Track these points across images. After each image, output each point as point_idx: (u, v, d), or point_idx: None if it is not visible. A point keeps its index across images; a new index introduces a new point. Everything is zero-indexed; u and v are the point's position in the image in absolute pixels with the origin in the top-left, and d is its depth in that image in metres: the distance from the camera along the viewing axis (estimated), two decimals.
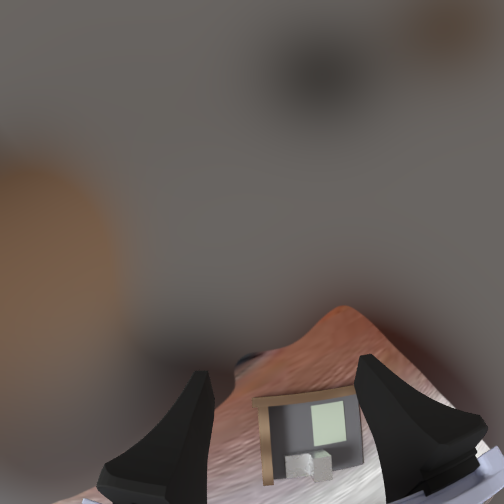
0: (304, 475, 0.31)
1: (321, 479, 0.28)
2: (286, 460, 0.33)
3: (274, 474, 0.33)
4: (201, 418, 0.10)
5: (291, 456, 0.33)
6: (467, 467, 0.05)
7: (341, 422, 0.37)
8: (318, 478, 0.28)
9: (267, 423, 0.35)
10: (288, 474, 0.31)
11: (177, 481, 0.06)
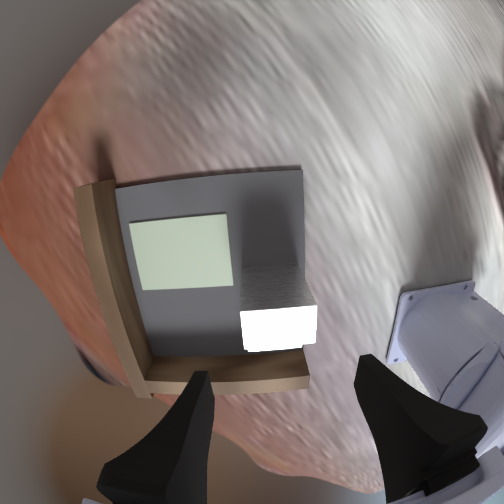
0: None
1: (309, 330, 0.15)
2: (258, 348, 0.20)
3: (292, 348, 0.23)
4: (201, 418, 0.10)
5: None
6: (467, 467, 0.05)
7: (180, 225, 0.19)
8: (304, 336, 0.15)
9: (175, 384, 0.20)
10: (290, 345, 0.20)
11: (177, 481, 0.06)
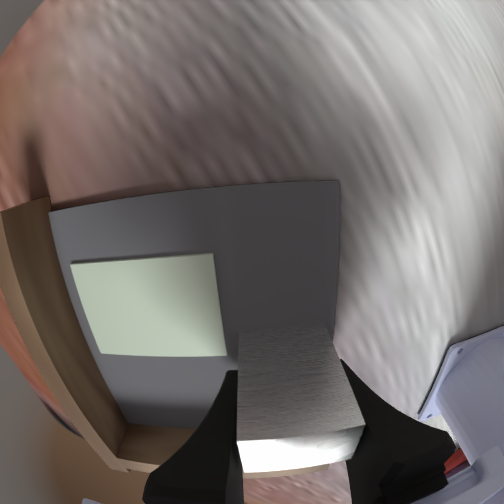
0: None
1: (346, 449, 0.08)
2: None
3: None
4: None
5: None
6: (467, 467, 0.05)
7: (141, 269, 0.12)
8: (338, 455, 0.08)
9: (155, 466, 0.12)
10: None
11: (230, 484, 0.06)
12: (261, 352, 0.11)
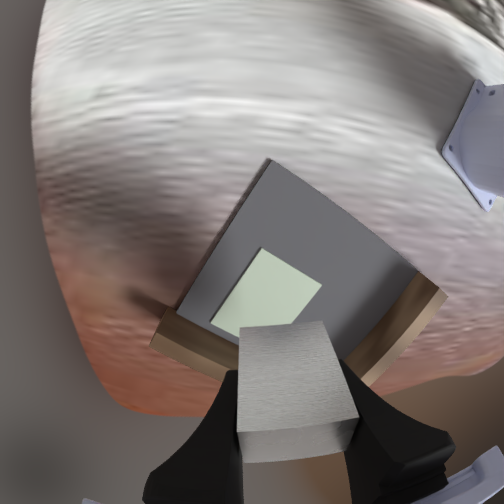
0: None
1: (341, 441, 0.08)
2: None
3: (410, 278, 0.20)
4: None
5: None
6: (467, 467, 0.05)
7: (242, 288, 0.20)
8: (333, 447, 0.08)
9: None
10: None
11: (229, 484, 0.06)
12: (261, 347, 0.12)
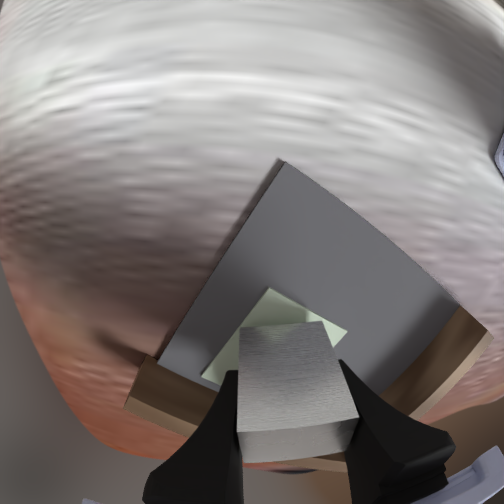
0: None
1: (341, 441, 0.08)
2: None
3: (450, 314, 0.15)
4: None
5: None
6: (467, 467, 0.05)
7: None
8: (333, 447, 0.08)
9: None
10: None
11: (229, 484, 0.06)
12: (261, 347, 0.12)
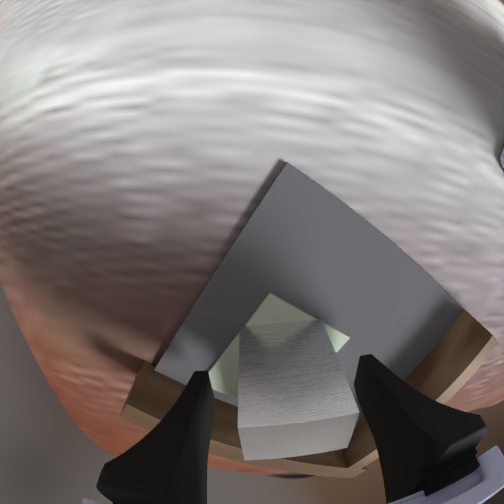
0: None
1: (342, 437, 0.08)
2: None
3: (454, 319, 0.14)
4: (201, 418, 0.10)
5: None
6: (467, 467, 0.05)
7: None
8: (334, 444, 0.08)
9: None
10: None
11: (177, 481, 0.06)
12: (261, 345, 0.12)
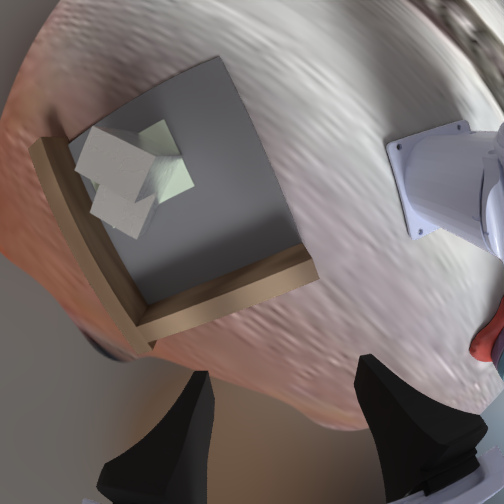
0: (149, 202, 0.17)
1: (135, 182, 0.12)
2: (98, 215, 0.17)
3: (289, 244, 0.20)
4: (201, 418, 0.10)
5: (94, 200, 0.16)
6: (467, 467, 0.05)
7: None
8: (128, 187, 0.12)
9: (167, 319, 0.18)
10: (127, 230, 0.17)
11: (177, 481, 0.06)
12: (137, 135, 0.16)
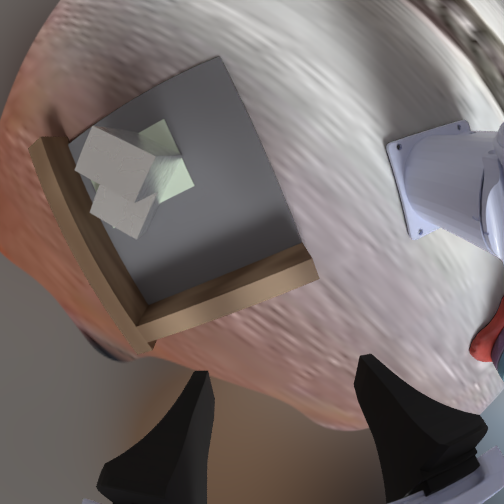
0: (149, 202, 0.17)
1: (135, 182, 0.12)
2: (98, 215, 0.17)
3: (289, 244, 0.20)
4: (201, 418, 0.10)
5: (94, 200, 0.16)
6: (467, 467, 0.05)
7: None
8: (128, 187, 0.12)
9: (167, 319, 0.18)
10: (127, 230, 0.17)
11: (177, 481, 0.06)
12: (137, 135, 0.16)
